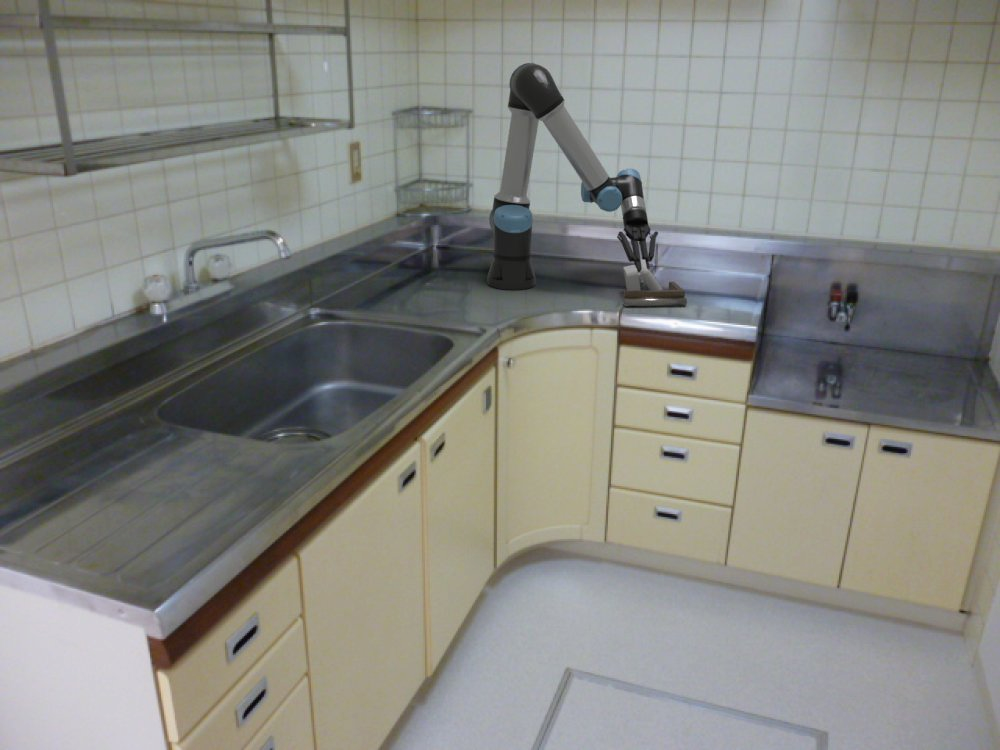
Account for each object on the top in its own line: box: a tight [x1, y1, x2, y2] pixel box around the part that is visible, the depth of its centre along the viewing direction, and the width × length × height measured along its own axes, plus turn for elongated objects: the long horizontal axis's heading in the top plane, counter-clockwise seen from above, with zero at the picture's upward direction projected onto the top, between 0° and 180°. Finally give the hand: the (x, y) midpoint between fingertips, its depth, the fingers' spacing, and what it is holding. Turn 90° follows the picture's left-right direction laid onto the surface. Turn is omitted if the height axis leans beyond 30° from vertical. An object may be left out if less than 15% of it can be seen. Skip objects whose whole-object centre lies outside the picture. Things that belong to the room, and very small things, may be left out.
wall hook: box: [622, 264, 664, 291], centre depth 251 cm, size 8×10×10 cm
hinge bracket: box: [622, 281, 688, 307], centre depth 247 cm, size 18×13×4 cm
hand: (644, 280), depth 254 cm, fingers closed
